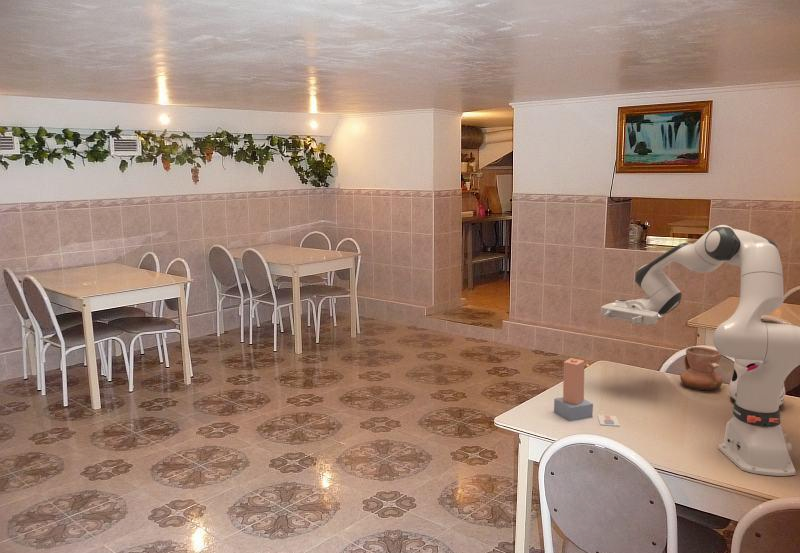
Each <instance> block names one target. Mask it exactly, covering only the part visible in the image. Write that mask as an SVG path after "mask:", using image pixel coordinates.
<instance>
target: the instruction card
mask: <svg viewBox="0 0 800 553" xmlns="http://www.w3.org/2000/svg"><path fill="white" fill-rule="evenodd" d="M597 418H598V422H599V425H600V426H608V427H609V426H610V427H620V426H621V425H620V423H619V422H620V421H619V419H618V416H617V415H607V414H606V415H605V414H597Z"/></svg>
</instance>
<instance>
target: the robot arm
mask: <svg viewBox="0 0 800 553" xmlns="http://www.w3.org/2000/svg"><path fill="white" fill-rule="evenodd" d="M673 262H674V263H676V264H677V263H678V264H680V265H681V266H683V267H685V268H686V269H688V270H690V271H692V272H694V273H697V274H709V273H712V272H714V271H715V270H717V269H719V267H721V266H722V265H723V264H724V263H726V264H731V265H733V266H734V267H739V268H740V291H739V293H740V294H739V300H738V301H739V302H738V306H737V307H736V309H735V311H734V312H733V314H731V316H730V317H729V318H728V319H726V320H724V321H723V322H721V323H720V324H719V325H717V328H716V329H715V330H714V334H713V337H712V338H713V345H714V347H715V350H717V351H718V352H719V353H720V354H721V356H726V357H728V358H733V359H735V358H736V359H745V360H758V361H763V362H762V363H761V365H760V366H758V367H757V368H755V369H753V370H750V371H747V372H745V373H744V374H742V375H741V376H740V378H739V379H738V383H737V394H736V401H735V400H734V402H733V407H732V414H733V416H732V417H731V419H729V420H728V421H727V422H726V424H725V425H726V427H725V431H724V437H723V438H724V439H723V442H721V443H719V444H718V446H717V449H718V450H719V451H720V452H722V453H723V455H725V456H726V457H727V458H728V459H729V460H731V461H732V463H734V464H735V466H737V467H738V468H739V469H741V470H742V471H744V472H748V473H752V474H756V475H757V474H758V475H764V476H778V477H779V476H780V477H789V476H793V475H796V469H795V466H794V464H793V462H792V459H791V456H790V453H789V452H791V451H792V448H793V447H792V443H791V442H786V439H787V433H784V431H783V428H782V425H781V417H782V416H781V408H780V406H779V401H780V395H781V390H782V386H783V383H784V384H785V381H786V379H787V377H789V375H790V374H791V372H792V371H794V370H795V369H796V368H797V367H798V366H800V326H797V325H794V324H788V323H776V322H775V323H774V322H773V323H772V322H770V323H769V322H764V321H762V316H764V315H767V314H770V313H772V312H774V311H777V310H778V309H779V308H780V307H782V305H783V304H784V301H785V295H784V294H785V293H784V272H783V271H784V270H783V265H782V259H781V256H780V251H779V249H778V246H777V244H776V242H774V241H773V240H772V239H769V238H768V237H766V236H760V235H757V234H754V233H752V232H749V231H746V230H743V229H739V228H738V229H737V228H733V227H731V226H730V225H726V224H720V225H717V226H715V227H713V228H711V229H709V230H708V231H706V233H704V234H703V235H702V236H701V237H700V238H698V239H697V240H696V241H695V242H694V243H687V242H683V243H679V244H677V245H675V246H674V247H672V248H671V249H669V250H667V251H665V252H664V253H662V254H661V255H660V256H658V257H656V258H655V259H653V260H652V261H651V262H649V263H646V264H644V265H643V266H642V265H641V267H640V268H638V269H637V270H636V272H635V278H634V282H635V283H636V284H637V285H638V286H639V287H640V288H641V289H642V290H643V291H644V292H645V294H646V295H647V296H643V297H640V298H637V299H630V300H625V299H624V300H623V299H617V300H614V302H609V303H607V304H604V305H602V306H601V307H600V316H601V317H604V318H605V319H615V320H620V321H624V322H625V321H626V322H629V323H631V325H641V324H642V325H648V326H654V325H656V324H657V323H659V320H663V318H664V317H663V315H666V314H668V313H670V312H672V311H673V310H674V309H676V308H677V307H678V306H679V304H680V303H681V301H682V300H681V299H682V292H681V289H679V288H678V286H676V284H675V283H674V282H673V281H672V280H671V279H670V277H668V276H667V273H666V272H664V268H665V267H667V266H668V265H670V264H671V263H673Z"/></svg>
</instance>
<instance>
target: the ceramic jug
mask: <svg viewBox="0 0 800 553" xmlns="http://www.w3.org/2000/svg"><path fill="white" fill-rule="evenodd" d="M721 357H722V355H721V354H720V353H719V352H718V351H717V349H713V348H708V347H704V346H689V347H688V346H687V347H686V348H685V356H684V358H683V364H684V369H685V370H684V371H682V372H681V374H680V381H681V383H683V384H684V385H685V386H687V387H689V388H692V389H695V390H700V391H711V390H716V389H718V388H719V387H721V386H722V384H723V378H722V376H721V375H720V374H718V373H717V372H716V371H715V369H717V368H720V364H719V362H720V360H721Z"/></svg>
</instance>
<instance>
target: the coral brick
mask: <svg viewBox="0 0 800 553" xmlns="http://www.w3.org/2000/svg"><path fill="white" fill-rule="evenodd" d="M585 364H586V363H585V360H583V359H578V358H572V357H570V358H568V359H567V360H565V361H563V379H562V380H563V386H562V388H563V389H562V391H563V394H562V397H563V401H564V402H568V403H571V404H575V405H577V404H579V403H580V402H582V401H583V400H584V399H585Z"/></svg>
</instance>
